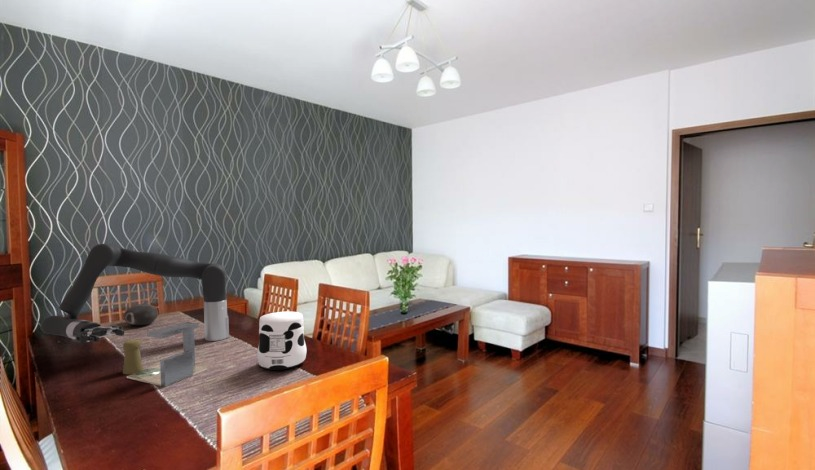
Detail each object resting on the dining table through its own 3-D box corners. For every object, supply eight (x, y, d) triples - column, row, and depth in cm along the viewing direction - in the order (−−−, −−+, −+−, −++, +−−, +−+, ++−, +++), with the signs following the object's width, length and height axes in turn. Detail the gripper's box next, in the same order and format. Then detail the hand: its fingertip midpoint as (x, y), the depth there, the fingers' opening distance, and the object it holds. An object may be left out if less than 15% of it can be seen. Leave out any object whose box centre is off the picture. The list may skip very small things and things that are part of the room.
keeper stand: (126, 377, 135) (124, 329, 134) (168, 362, 149) (167, 318, 149) (165, 387, 128) (163, 336, 127) (206, 369, 142) (205, 324, 141)
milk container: (292, 353, 159) (291, 308, 158) (315, 364, 146) (314, 316, 145) (249, 364, 146) (248, 316, 146) (270, 378, 134) (269, 325, 133)
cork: (132, 374, 138) (131, 343, 137) (118, 373, 139) (116, 342, 138) (147, 368, 144) (146, 338, 143) (133, 367, 145) (132, 337, 144)
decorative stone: (122, 322, 206) (121, 303, 206) (155, 318, 215) (154, 299, 215) (125, 330, 191) (125, 310, 191) (160, 325, 200) (160, 305, 200)
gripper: (61, 325, 145) (88, 330, 138) (103, 316, 158) (130, 321, 151) (61, 345, 145) (89, 352, 139) (104, 335, 158) (131, 340, 152)
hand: (110, 335), depth 145 cm, fingers open, 8 cm apart
